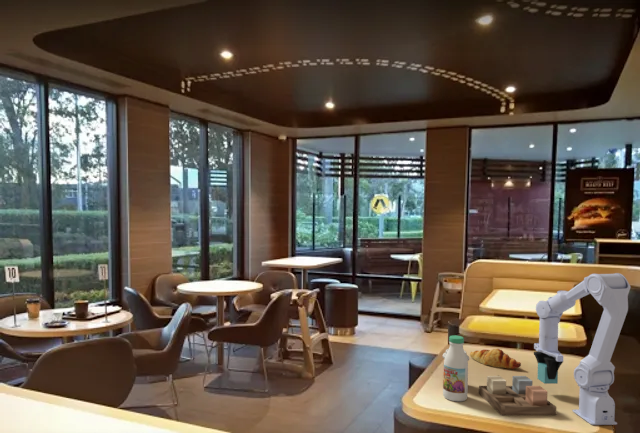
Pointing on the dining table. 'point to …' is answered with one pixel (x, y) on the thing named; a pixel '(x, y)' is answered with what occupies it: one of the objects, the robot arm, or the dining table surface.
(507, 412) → the puzzle board
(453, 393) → the milk bottle
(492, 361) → the croissant
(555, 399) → the dining table surface
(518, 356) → the dining table surface
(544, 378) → the teal block
